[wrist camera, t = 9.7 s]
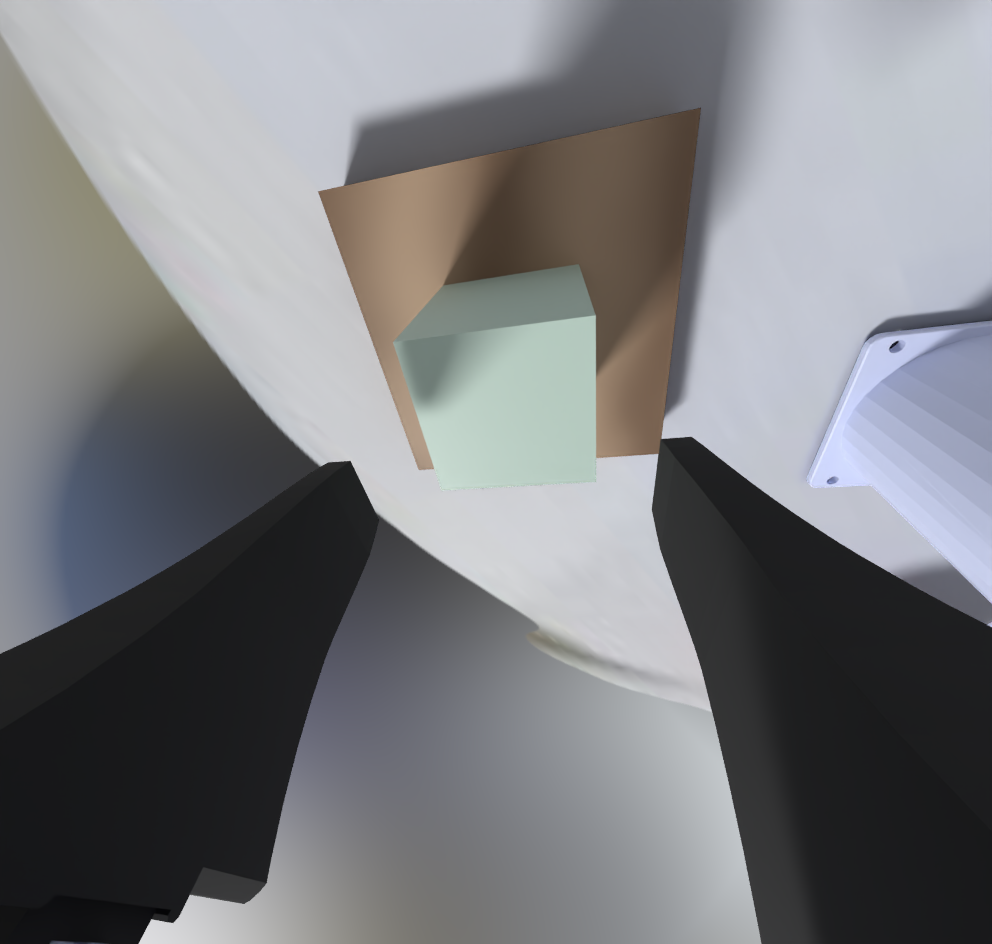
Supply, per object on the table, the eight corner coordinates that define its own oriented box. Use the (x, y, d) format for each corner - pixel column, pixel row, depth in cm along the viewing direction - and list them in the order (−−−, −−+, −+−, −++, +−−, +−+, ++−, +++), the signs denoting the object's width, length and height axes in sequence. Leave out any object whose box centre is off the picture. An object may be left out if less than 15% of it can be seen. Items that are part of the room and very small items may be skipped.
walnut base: (681, 114, 12) (700, 107, 11) (650, 430, 20) (659, 453, 18) (342, 188, 14) (318, 191, 13) (427, 448, 22) (418, 469, 20)
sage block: (578, 263, 13) (595, 315, 9) (581, 392, 16) (596, 481, 12) (443, 285, 14) (392, 342, 10) (469, 403, 17) (441, 490, 13)
